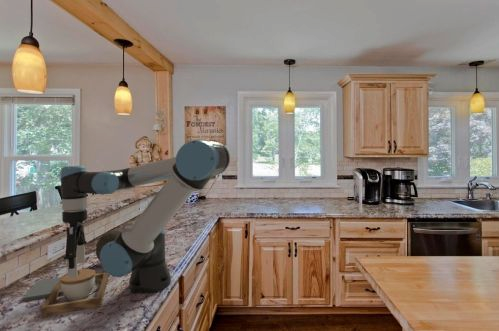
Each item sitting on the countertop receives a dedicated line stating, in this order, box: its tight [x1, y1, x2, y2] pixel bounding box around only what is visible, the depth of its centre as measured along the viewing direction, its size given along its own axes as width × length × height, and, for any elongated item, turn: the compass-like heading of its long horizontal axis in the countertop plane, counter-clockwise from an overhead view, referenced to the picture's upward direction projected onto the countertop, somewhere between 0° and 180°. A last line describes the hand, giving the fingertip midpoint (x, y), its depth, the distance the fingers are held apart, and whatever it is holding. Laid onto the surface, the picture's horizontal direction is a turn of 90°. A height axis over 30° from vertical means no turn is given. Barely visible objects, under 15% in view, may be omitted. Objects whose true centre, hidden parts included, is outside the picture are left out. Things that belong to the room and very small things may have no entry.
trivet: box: [22, 276, 65, 302], centre depth 110 cm, size 15×15×1 cm
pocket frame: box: [40, 271, 109, 318], centre depth 103 cm, size 16×22×3 cm
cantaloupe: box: [95, 230, 122, 263], centre depth 133 cm, size 14×14×15 cm
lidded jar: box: [60, 268, 96, 301], centre depth 103 cm, size 11×11×9 cm
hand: (76, 269), depth 103 cm, fingers open, 13 cm apart
